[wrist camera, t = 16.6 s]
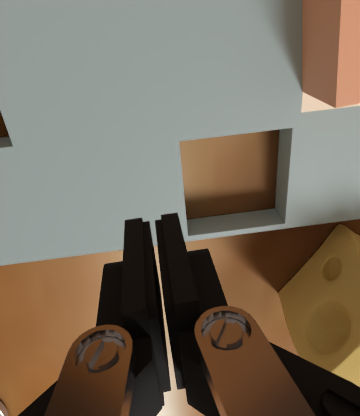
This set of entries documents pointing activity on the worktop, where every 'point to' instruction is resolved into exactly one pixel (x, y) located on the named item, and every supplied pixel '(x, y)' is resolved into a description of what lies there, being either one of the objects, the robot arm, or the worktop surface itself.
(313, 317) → the cheese
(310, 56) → the block
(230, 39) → the trap deck
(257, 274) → the worktop surface
